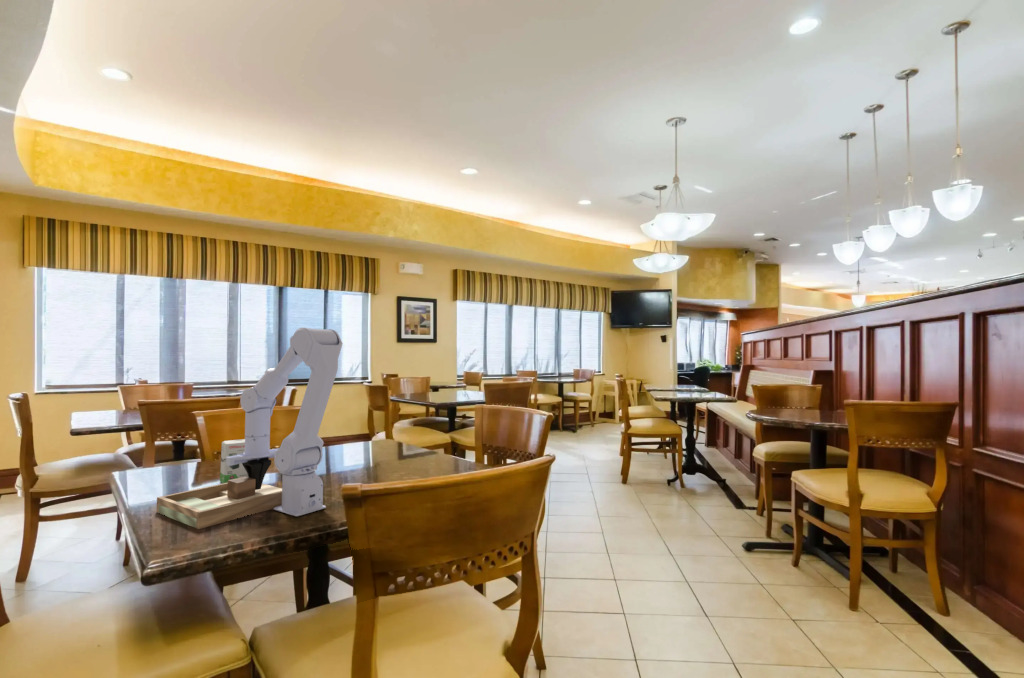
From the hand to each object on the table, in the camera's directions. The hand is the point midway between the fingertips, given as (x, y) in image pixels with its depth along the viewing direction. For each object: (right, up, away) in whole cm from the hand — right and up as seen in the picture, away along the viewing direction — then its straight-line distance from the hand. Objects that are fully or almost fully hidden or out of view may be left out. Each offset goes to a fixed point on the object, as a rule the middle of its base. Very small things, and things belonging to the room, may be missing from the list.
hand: (256, 488), depth 125 cm
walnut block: (-2, -1, -3) cm, 4 cm away
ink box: (-15, -4, +19) cm, 24 cm away
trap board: (-3, -3, -5) cm, 7 cm away
